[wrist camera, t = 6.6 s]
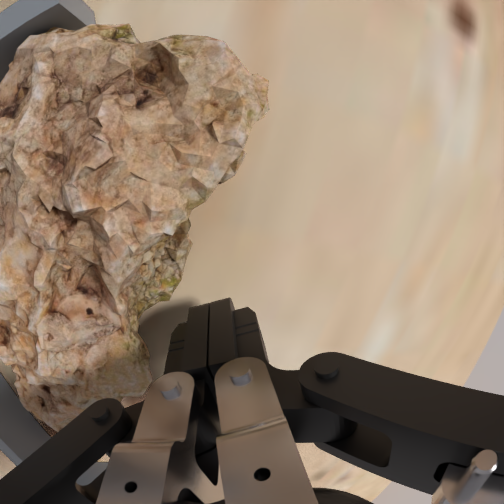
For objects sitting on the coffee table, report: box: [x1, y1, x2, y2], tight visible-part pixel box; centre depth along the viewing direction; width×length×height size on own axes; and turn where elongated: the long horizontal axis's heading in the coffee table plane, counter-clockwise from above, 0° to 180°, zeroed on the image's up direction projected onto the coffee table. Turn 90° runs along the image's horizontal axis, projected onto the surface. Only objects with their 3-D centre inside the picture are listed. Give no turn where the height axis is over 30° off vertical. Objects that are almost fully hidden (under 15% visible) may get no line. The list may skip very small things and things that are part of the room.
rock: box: [0, 24, 269, 432], centre depth 10 cm, size 17×5×10 cm
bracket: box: [0, 0, 108, 486], centre depth 11 cm, size 14×25×4 cm, turn 14°
